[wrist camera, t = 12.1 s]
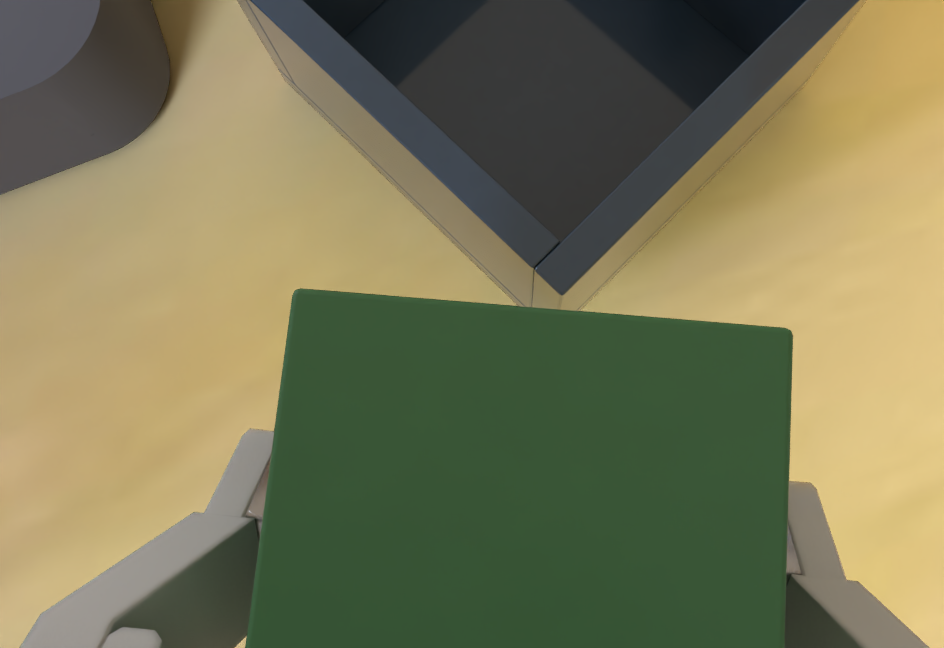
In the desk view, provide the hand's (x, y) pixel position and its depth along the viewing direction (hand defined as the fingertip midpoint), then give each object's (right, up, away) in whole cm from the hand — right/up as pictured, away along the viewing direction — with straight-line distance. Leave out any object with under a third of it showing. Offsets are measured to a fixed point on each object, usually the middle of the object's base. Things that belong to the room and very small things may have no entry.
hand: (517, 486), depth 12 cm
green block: (0, -2, +5) cm, 5 cm away
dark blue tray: (+2, +10, +16) cm, 20 cm away
